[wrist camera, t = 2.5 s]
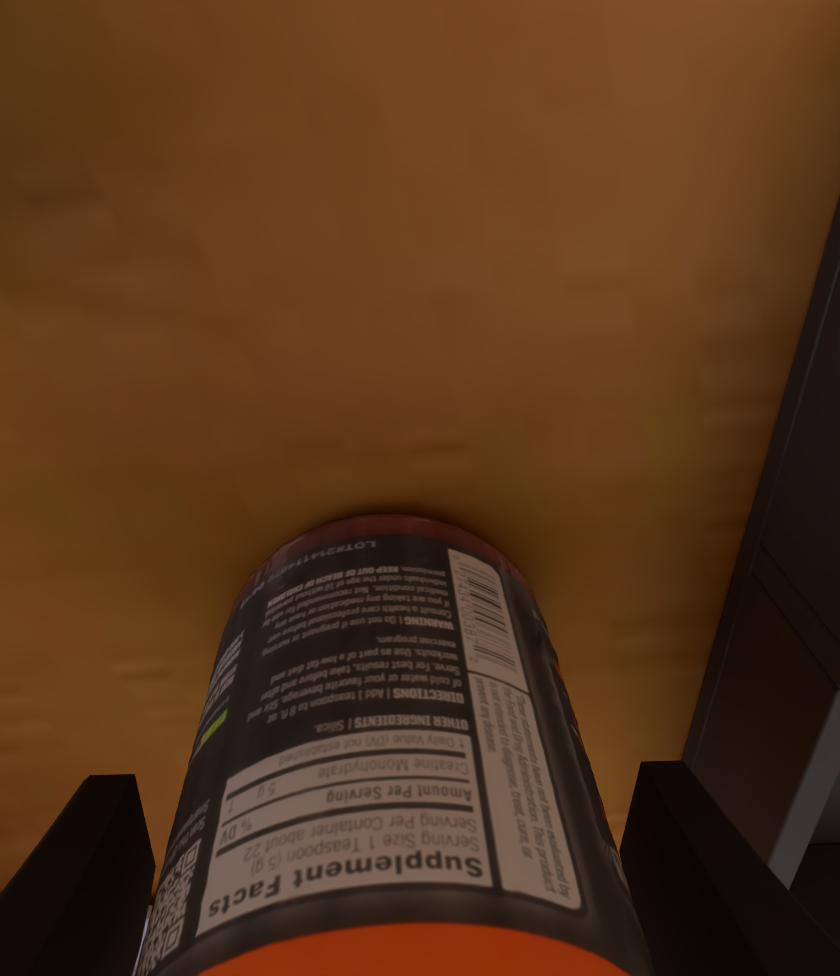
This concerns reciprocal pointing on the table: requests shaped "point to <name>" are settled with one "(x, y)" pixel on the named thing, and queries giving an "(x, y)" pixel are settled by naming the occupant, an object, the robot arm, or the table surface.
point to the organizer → (787, 636)
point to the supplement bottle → (390, 778)
